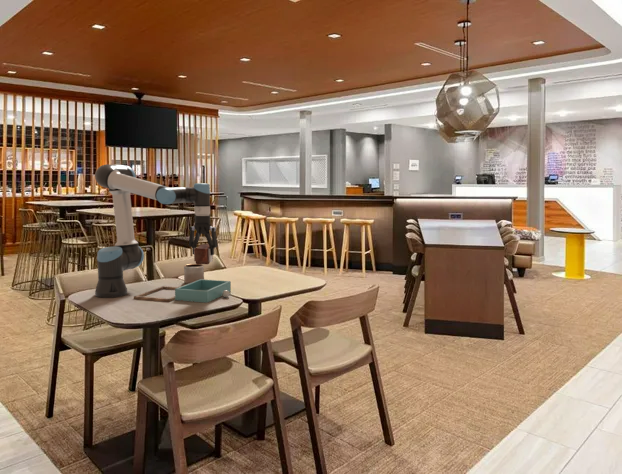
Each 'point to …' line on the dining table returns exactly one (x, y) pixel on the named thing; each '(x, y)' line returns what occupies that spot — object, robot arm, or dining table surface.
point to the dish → (202, 290)
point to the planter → (193, 272)
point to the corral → (153, 297)
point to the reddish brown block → (202, 254)
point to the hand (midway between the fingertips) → (203, 261)
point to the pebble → (225, 293)
